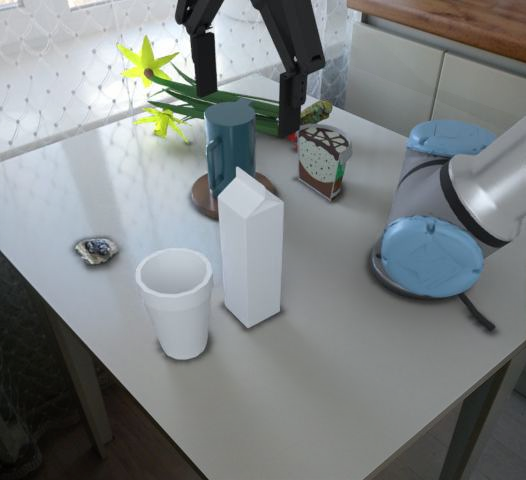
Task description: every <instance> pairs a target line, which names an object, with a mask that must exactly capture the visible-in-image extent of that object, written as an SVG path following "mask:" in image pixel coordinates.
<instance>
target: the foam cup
mask: <svg viewBox="0 0 526 480" xmlns="http://www.w3.org/2000/svg"><path fill="white" fill-rule="evenodd" d="M135 283H136V287H137V293H138V296H139V297H140V299H141V300H142V302H143V304H144V307H145V310H146V312H147V315H148V317H149V319H150V323H151V324H152V327H153V329H154V332H155V334H156V336H157V337H156V338H157V339H158V342H159V344H160V346H161V348H162V350H163V352H164V353H165V354H166V355H167V356H168V357H170V358H172V359H174V360H185V361H186V360H190V359H194V358H196V357H198V356H199V355H201V354H202V353H203V352H204V351H205V349H206V348H207V347H206V346H207V345H208V340H209V339H208V338H209V327H210V314H211V305H212V303H211V302H212V293H213V292H212V291H213V289H214V286H215V285H214V274H213V269H212V264H211V261H210V260H209V259H208V258H207V257H206V256H205V255H204V254H203V253H202V252H199V251H196V250H193V249H191V248H188V247H168V248H164V249H161V250H157V251H154V252H152V253H150V254H149V255H148V256H146V257H144V258H143V259H142V260H141V261H140V263H139V265H138V266H137V267H136V269H135Z"/></svg>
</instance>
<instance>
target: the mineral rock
mask: <svg viewBox="0 0 526 480" xmlns="http://www.w3.org/2000/svg"><path fill="white" fill-rule="evenodd" d="M75 250H76V251H77V253H79V254H80V255H81V259H83V260H84V261H85V262H84V263H86V264H87V265H91V266H92V265H100V264H101V263H105V262H107V261H109V258H112V257H113V254H118V253H119V252H120V250H119V249H118V246H117V245H116V243H114V241H112V240H110V239H108V238H99V237H98V238H96V239H94V238H93V239H83V240H82V241H80V242H78V243H77V244H76V245H75Z"/></svg>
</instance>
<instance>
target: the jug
mask: <svg viewBox="0 0 526 480" xmlns="http://www.w3.org/2000/svg"><path fill="white" fill-rule="evenodd" d="M247 99H248V98H247ZM247 99H242V98H240V99H239V100H237V101H236V102H223V103H218V104H216V103H214V104H215V105H212V106H210V107H209V108H207V109H206V110H205V112H204V120H203V122H204V132H205V133H204V134H205V158H206V167H207V169H206V171H207V173H208V184H209V189H210V193H211V194H212V195H213V196H214V197H215V198H217V199H218V196H219V195H220V193H221V192H222V191H223V190H224V189H225V188H226V187H227V186H228V185H229V184H230V183H231V182H232V181H233V180H234V179H235V178H236V167H239V168H240V169H242V170H243V171H245V172H246V173H247V174H249V175H250V176H251V177H253V178H254V179H255V180H256V172H257V169H256V168H257V165H256V164H257V163H256V161H257V160H256V159H257V157H256V155H257V154H256V153H257V152H256V151H257V150H256V148H257V146H256V144H257V143H256V139H257V138H256V135H257V132H256V127H255V114H256V113H255V111H254V109H253V101H252V100H253V99H252V100H247Z"/></svg>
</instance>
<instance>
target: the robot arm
mask: <svg viewBox="0 0 526 480" xmlns="http://www.w3.org/2000/svg"><path fill="white" fill-rule="evenodd" d="M249 1H250V4H251V6H252V8H253V9H255V10H256V11H258V12H259V14H260V16H261V18H262V20H263V21H262V22H263V23H264V25H265V27H266V29H267V31H268V34H269V36H270V39H271V41H272V43H273V45H274V47H275V50H276V53H277V54H278V56H279V59H280V60H281V63H282V65H283V68H284V70H285V71H284V72H281V73H279V84H278V85H279V88H278V89H279V90H278V91H279V92H278V93H279V94H278V101H279V104H278V106H279V118H278V120H279V121H278V136H277V137H280V138H281V139H285V138H287V136H289V135H291V134H293V133H295V132H297V131H299V130H300V118H301V111H302V106H303V105H305V104H306V101H307V93H308V92H307V90H308V76H310V75H312V74H314V73H316V72H318V71H321V70H323V69H324V68H325V67H326V64H327V62H326V57H325V53H324V49H323V45H322V41H321V36H320V32H319V28H318V23H317V20H316V16H315V11H314V7H313V4H312V0H249ZM224 2H225V0H177V3H176V8H175V13H174V20H175V23H176V24H177V25H179V26H181V25H182V26H183V27H184V28H185V31H186V34H187V35H188V36H189V43H190V54H191V55H190V56H191V60H192V64H193V68H194V80H195V81H196V84H195V85H196V93H197V97H199V98H203V97H205V96H208V95H210V94H212V93H215V92H217V91H218V90H219V89H218V75H217V73H218V72H217V56H216V37H215V35H216V34H215V33H214V32H212V31H209V30H211V29H213V28H214V26H213V22H214V19H215V18H216V16H217V15H218V14H219V13H218V12H219V11H220V9H221V7H222V5H223V4H224ZM207 31H208V32H207ZM295 59H296V60H295ZM404 153H405V154H404V158H403V163H402V166H401V172H400V174H399V179H398V183H397V186H396V190H395V194H394V196H393V197H394V198H393V201H392V205H391V207H390V213H389V215H388V219H387V222H386V224H385V228H384V231H383V232H382V233H381V235H380V237H379V238H378V239H377V241H376V243H375V244H374V246H373V249H372V252H371V257H370V269H371V272H372V274H373V276H374V277H375V279H376V280H377V281H378V282H379V283H380V284H382V285H383V286H384V287H385V288H386V289H388V290H389V291H391V292H393V293H395V294H398V295H400V296H403V297H406V298H409V299H413V300H414V299H415V300H420V301H421V300H422V301H431V300H432V301H435V300H442V299H446V298H450V297H453V296H457V297H458V298H459V299H460V301H461V302H462V303H463V304H464V306H465V307H466V308H467V310H468V311H469V312H470V313H471V314H472V315H473V317H474V318H475V319H476V320H477V321H478V322H479V323H480V324H481V325H483V326H484V327H485V328H486V329H487V330H488V331H490V332H493V331H494V330H495V329H496V328H497V327H496V325H494V323H492V322H491V321H490V320H488V319H487V318H486V316H484V315H483V314H482V313H481V312H480V311H479V310H478V309H477V308H476V306H475V305H474V303H473V301H471V300H470V298H469V297H468V296H467V295H466V294H465V291H467V290H469V289H470V288H472V287H473V286H474V285H475V284H476V283H477V281H478V280H479V278H480V276H481V275H482V274H483V271H484V269H485V264H486V262H485V259H486V258H488V257H489V256H491V255H493V254H494V253H496V252H497V251H499V250H500V249H502V248H504V247H505V246H507V245H508V244H510V243H511V242H513V241H514V240H515V239H517V238H518V237H519V235H520V233H521V230H522V224H523V219H524V218H525V217H526V115H525V116H523V117H522V118H521V119H520V120H518V121H517V122H515V124H513V125H512V126H511V127H510V128H508V129H507V130H505V132H503V133H502V134H501V135H500V136H499V137H497V136H496V135H495V134H494V133H493V132H492V131H490V130H489V129H486V128H484V127H483V126H480V125H478V124H477V125H476V124H473V123H470V122H466V121H460V120H452V119H434V120H427V121H423V122H421V123H418V124H417V125H415V126H414V127H413V128H412V129H411V131H410V133H409V137H408V140H407V142H406V143H405V152H404Z"/></svg>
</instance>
